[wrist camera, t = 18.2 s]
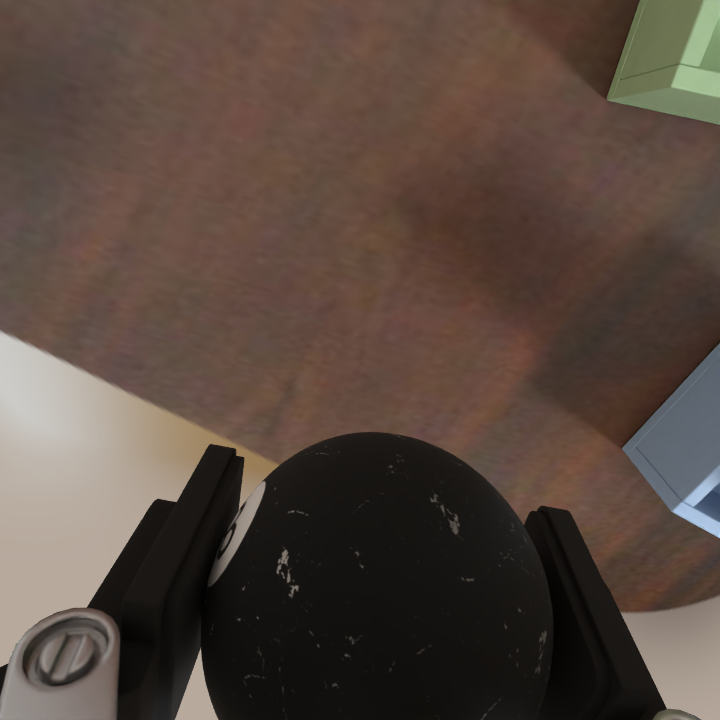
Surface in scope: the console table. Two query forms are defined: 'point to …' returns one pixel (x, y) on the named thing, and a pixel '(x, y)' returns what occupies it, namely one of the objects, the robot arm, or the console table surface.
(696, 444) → the bin
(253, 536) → the billiard ball
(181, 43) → the console table surface
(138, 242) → the console table surface
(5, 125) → the console table surface
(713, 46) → the ball bin
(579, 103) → the console table surface
